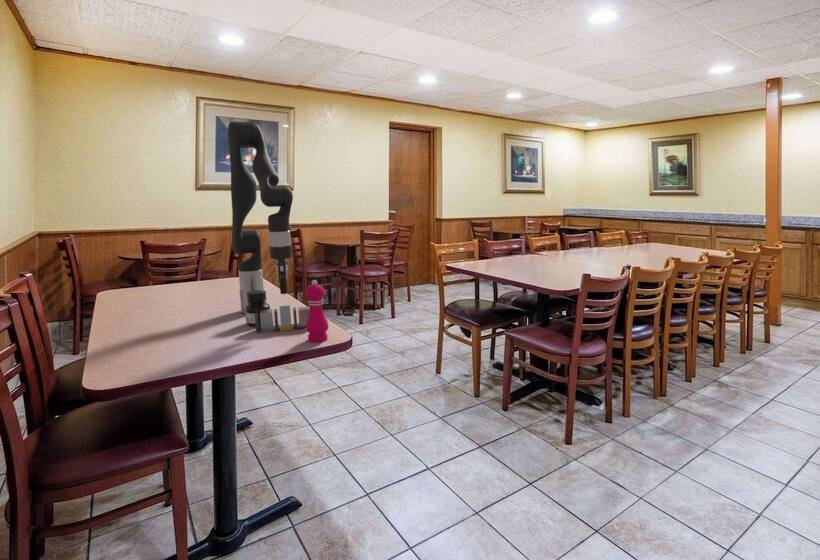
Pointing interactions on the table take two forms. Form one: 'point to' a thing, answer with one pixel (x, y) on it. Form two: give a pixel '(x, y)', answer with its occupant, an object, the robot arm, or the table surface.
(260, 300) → the ink bottle
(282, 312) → the light grey block
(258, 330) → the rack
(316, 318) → the pepper mill
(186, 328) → the table surface
